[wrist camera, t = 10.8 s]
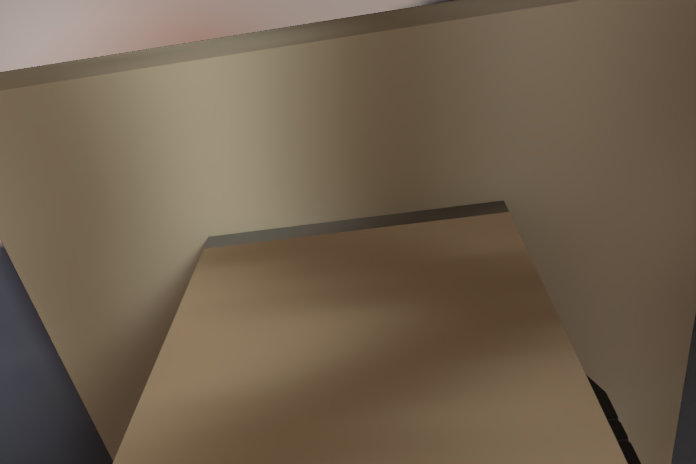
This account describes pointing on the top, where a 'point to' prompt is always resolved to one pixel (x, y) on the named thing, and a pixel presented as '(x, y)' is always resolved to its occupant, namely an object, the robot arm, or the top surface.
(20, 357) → the top surface
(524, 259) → the block
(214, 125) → the board
